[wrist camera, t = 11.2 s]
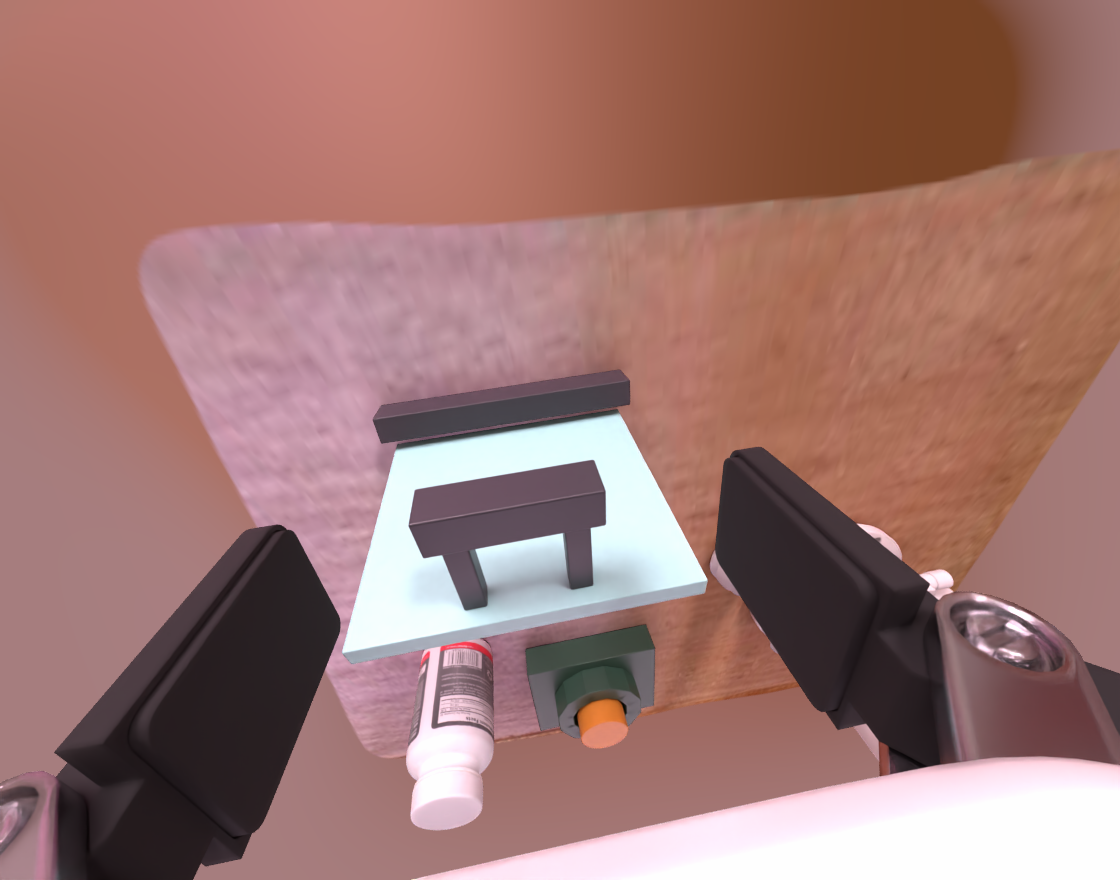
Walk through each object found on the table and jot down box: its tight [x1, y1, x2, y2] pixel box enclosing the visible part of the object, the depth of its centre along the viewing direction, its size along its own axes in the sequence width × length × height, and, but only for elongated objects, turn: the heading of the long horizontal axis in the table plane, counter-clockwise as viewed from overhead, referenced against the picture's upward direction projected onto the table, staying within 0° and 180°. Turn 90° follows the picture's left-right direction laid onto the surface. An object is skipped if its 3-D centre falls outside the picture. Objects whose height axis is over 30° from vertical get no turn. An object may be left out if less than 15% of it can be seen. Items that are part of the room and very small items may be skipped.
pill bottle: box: [406, 638, 494, 830], centre depth 27 cm, size 5×5×10 cm
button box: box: [525, 625, 655, 738], centre depth 33 cm, size 10×8×4 cm
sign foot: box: [373, 370, 630, 444], centre depth 21 cm, size 13×1×2 cm, turn 96°
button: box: [577, 698, 628, 748], centre depth 31 cm, size 4×4×2 cm
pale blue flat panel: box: [342, 409, 708, 664], centre depth 16 cm, size 12×11×6 cm
